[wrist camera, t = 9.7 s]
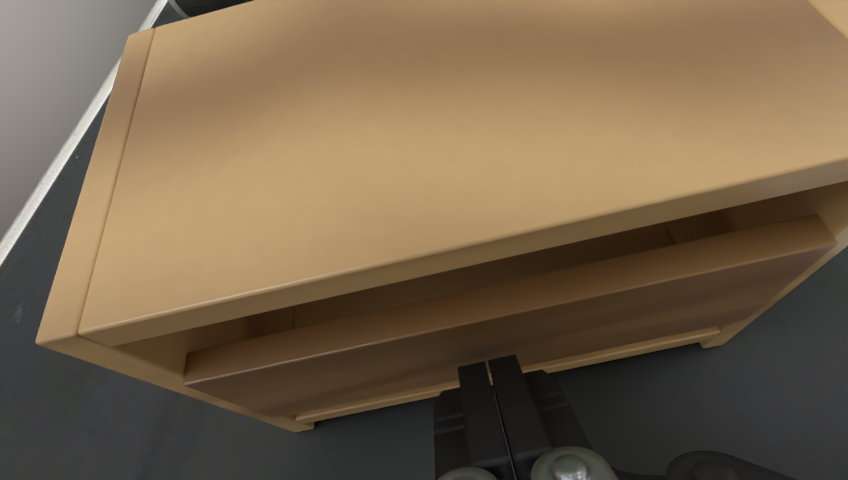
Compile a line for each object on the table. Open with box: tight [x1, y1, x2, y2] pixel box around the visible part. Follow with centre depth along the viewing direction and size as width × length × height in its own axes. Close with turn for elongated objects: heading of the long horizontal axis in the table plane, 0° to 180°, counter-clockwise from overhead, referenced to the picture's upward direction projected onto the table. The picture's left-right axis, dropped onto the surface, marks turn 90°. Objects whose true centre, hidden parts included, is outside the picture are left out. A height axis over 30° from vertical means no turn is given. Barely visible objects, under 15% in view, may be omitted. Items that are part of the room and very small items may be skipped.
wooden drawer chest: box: [35, 0, 848, 432], centre depth 14 cm, size 9×16×11 cm, turn 99°
